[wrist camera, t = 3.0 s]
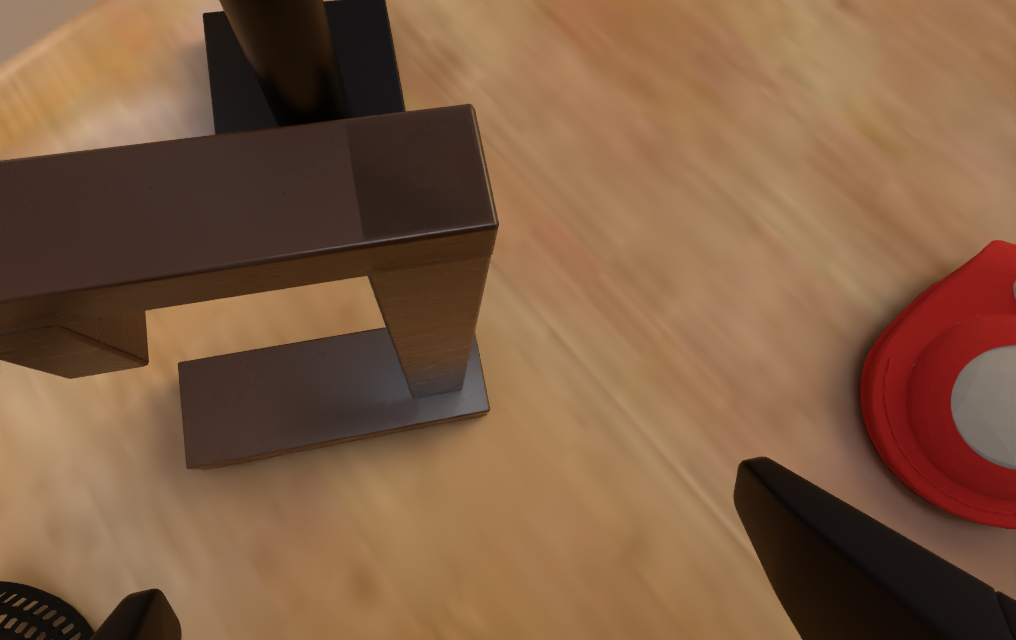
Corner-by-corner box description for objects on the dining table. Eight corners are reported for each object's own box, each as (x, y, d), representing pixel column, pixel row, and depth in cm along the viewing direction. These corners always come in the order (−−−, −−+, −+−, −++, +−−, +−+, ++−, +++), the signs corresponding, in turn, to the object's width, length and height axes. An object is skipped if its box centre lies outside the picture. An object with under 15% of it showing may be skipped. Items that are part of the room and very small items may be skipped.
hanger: (487, 415, 21) (576, 284, 7) (203, 470, 20) (-385, 444, 6) (469, 322, 22) (518, 36, 8) (194, 370, 20) (-347, 128, 6)
